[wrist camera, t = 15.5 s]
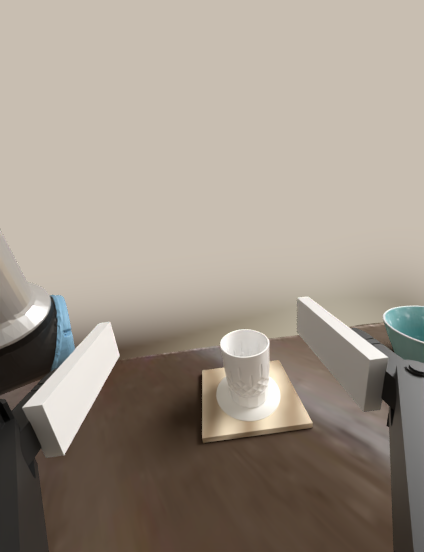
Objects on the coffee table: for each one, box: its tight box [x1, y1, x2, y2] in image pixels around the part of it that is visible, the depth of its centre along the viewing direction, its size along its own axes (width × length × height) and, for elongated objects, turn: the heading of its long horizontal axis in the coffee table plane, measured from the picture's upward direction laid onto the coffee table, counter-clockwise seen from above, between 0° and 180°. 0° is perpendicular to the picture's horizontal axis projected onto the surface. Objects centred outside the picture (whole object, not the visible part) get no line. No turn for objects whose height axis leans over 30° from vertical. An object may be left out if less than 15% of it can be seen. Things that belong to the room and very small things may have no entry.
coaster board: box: [202, 360, 313, 443], centre depth 37 cm, size 16×14×1 cm
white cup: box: [220, 329, 270, 408], centre depth 36 cm, size 8×8×10 cm
